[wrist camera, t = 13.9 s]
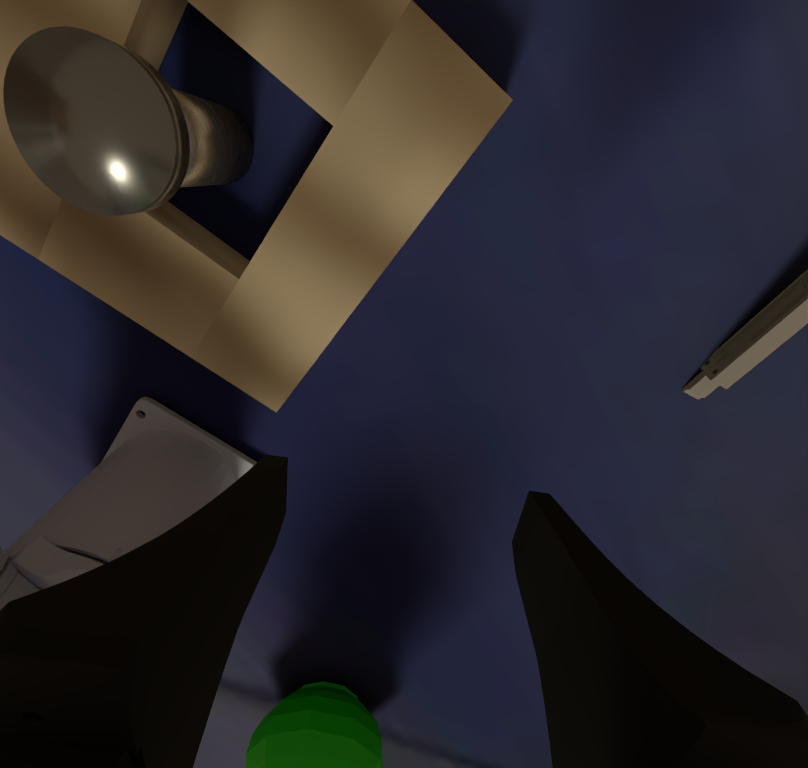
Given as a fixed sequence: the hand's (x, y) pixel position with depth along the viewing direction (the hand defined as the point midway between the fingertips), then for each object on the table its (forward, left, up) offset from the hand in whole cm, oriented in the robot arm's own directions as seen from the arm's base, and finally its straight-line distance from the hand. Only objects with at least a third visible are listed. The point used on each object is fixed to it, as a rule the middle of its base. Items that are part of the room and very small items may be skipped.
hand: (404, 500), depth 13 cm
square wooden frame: (+3, +12, -10) cm, 16 cm away
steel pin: (+3, +13, -10) cm, 16 cm away
